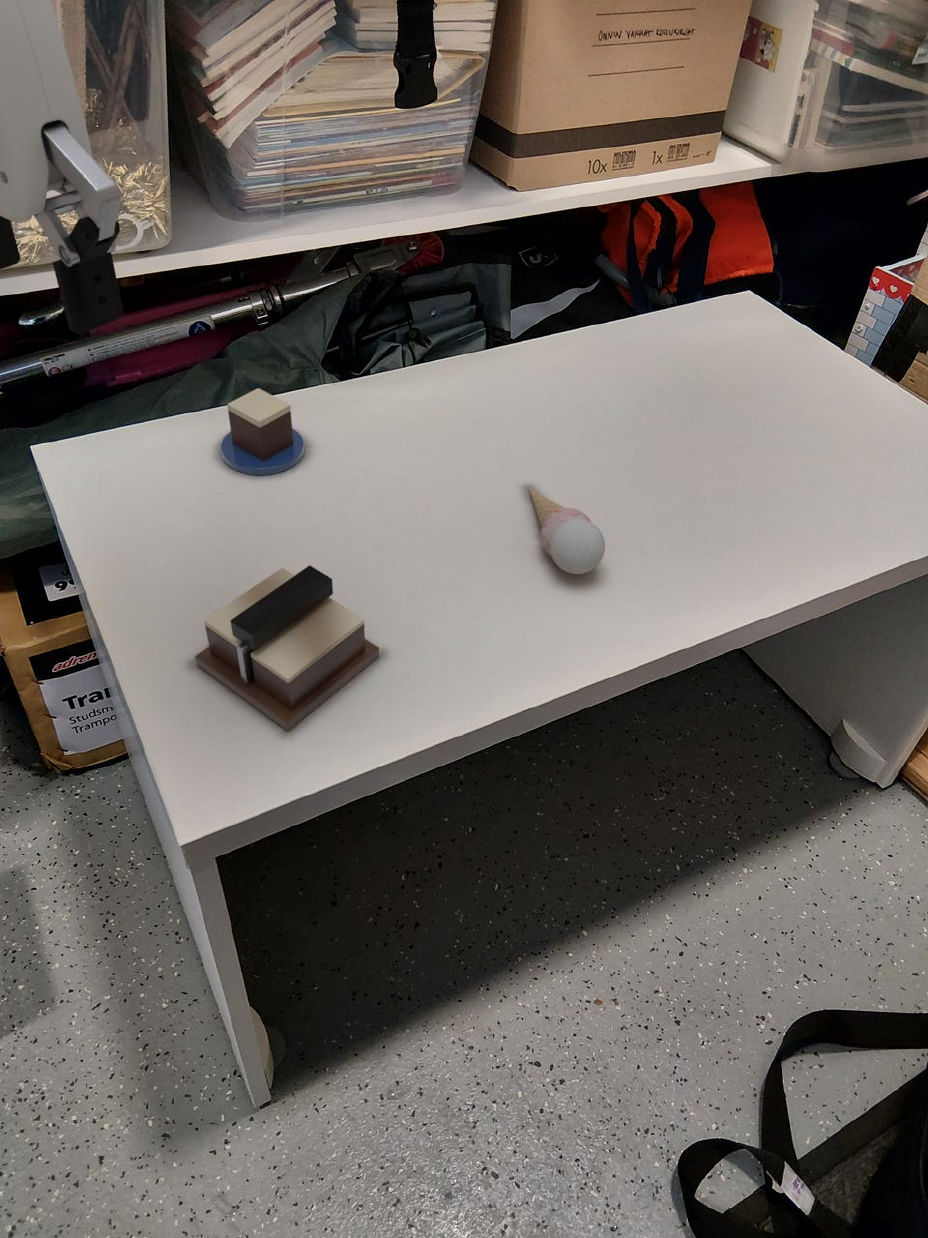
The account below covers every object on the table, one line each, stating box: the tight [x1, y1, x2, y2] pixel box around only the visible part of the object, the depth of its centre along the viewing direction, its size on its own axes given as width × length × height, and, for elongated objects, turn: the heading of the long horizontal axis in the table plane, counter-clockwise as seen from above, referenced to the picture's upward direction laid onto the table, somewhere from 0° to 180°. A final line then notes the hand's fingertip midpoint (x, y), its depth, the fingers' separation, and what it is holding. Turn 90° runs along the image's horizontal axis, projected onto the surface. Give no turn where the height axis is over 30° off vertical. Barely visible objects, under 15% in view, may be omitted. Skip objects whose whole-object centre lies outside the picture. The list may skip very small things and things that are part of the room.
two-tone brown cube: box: [227, 387, 293, 461], centre depth 91 cm, size 4×4×4 cm
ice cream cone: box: [528, 488, 606, 575], centre depth 85 cm, size 5×5×15 cm
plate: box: [220, 428, 305, 476], centre depth 92 cm, size 8×8×1 cm
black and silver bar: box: [231, 564, 334, 685], centre depth 70 cm, size 9×2×6 cm, turn 142°
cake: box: [194, 567, 380, 732], centre depth 72 cm, size 10×10×4 cm
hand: (44, 295), depth 54 cm, fingers open, 9 cm apart
